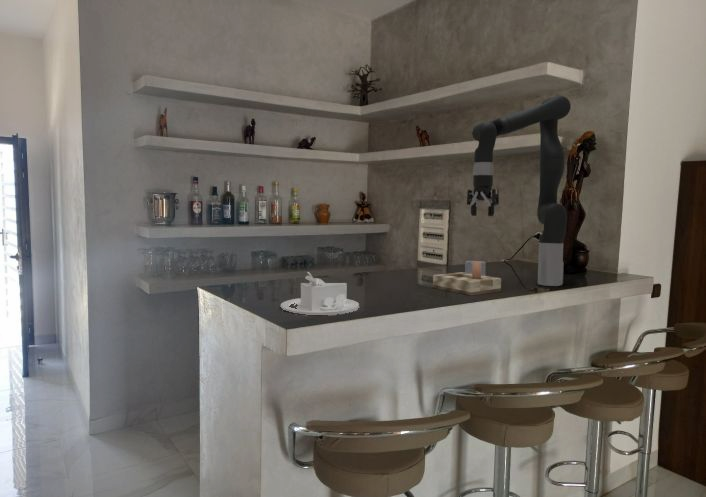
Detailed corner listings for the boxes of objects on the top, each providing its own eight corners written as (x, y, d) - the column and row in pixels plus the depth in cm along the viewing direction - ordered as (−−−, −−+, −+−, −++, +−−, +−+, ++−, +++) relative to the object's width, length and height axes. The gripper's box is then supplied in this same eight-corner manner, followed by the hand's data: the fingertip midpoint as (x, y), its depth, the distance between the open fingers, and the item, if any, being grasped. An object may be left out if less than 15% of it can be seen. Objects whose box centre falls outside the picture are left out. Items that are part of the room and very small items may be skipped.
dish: (294, 319, 146) (294, 280, 145) (271, 303, 169) (271, 270, 168) (371, 312, 156) (372, 276, 155) (340, 298, 179) (341, 266, 178)
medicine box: (485, 281, 217) (486, 261, 216) (483, 283, 213) (484, 262, 212) (466, 280, 221) (467, 260, 220) (464, 281, 217) (465, 261, 216)
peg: (475, 286, 196) (476, 260, 195) (486, 288, 192) (486, 262, 191) (466, 288, 193) (466, 261, 192) (476, 289, 189) (477, 263, 188)
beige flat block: (432, 287, 201) (433, 275, 200) (461, 284, 210) (462, 272, 209) (471, 295, 184) (471, 281, 184) (500, 291, 193) (501, 278, 193)
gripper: (504, 174, 196) (502, 216, 198) (475, 175, 208) (474, 215, 210) (490, 173, 192) (489, 216, 194) (462, 174, 204) (461, 215, 205)
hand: (482, 216), depth 202 cm, fingers open, 8 cm apart
